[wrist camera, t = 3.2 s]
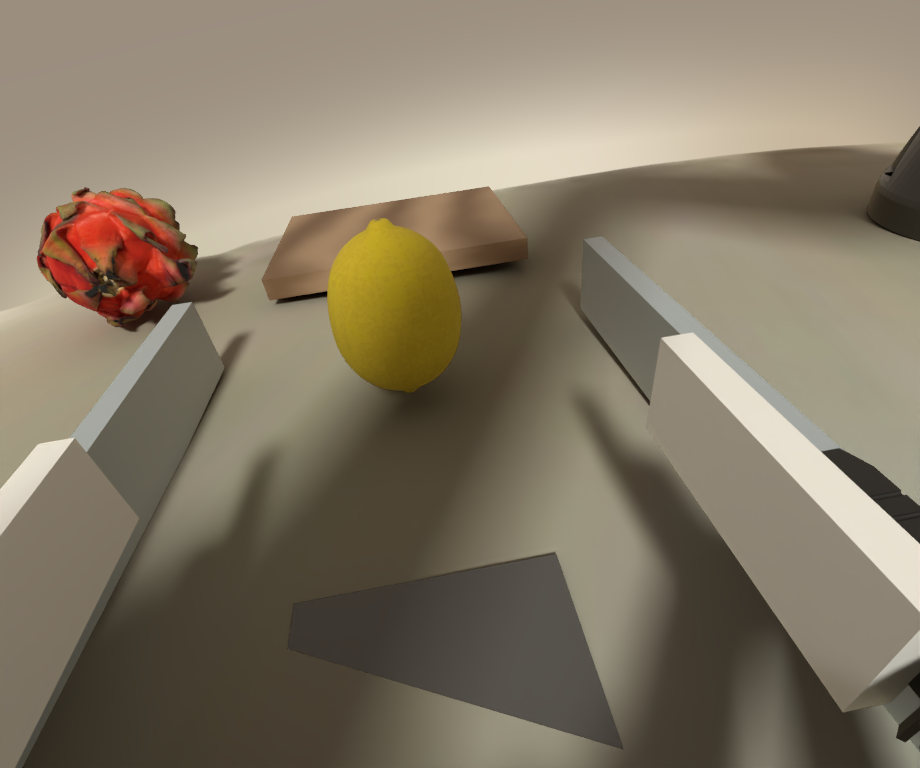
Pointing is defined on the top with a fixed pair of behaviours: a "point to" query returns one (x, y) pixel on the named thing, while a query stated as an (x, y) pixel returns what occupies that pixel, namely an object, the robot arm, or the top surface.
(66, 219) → the dragon fruit
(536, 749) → the top surface
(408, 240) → the lemon
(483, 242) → the board
